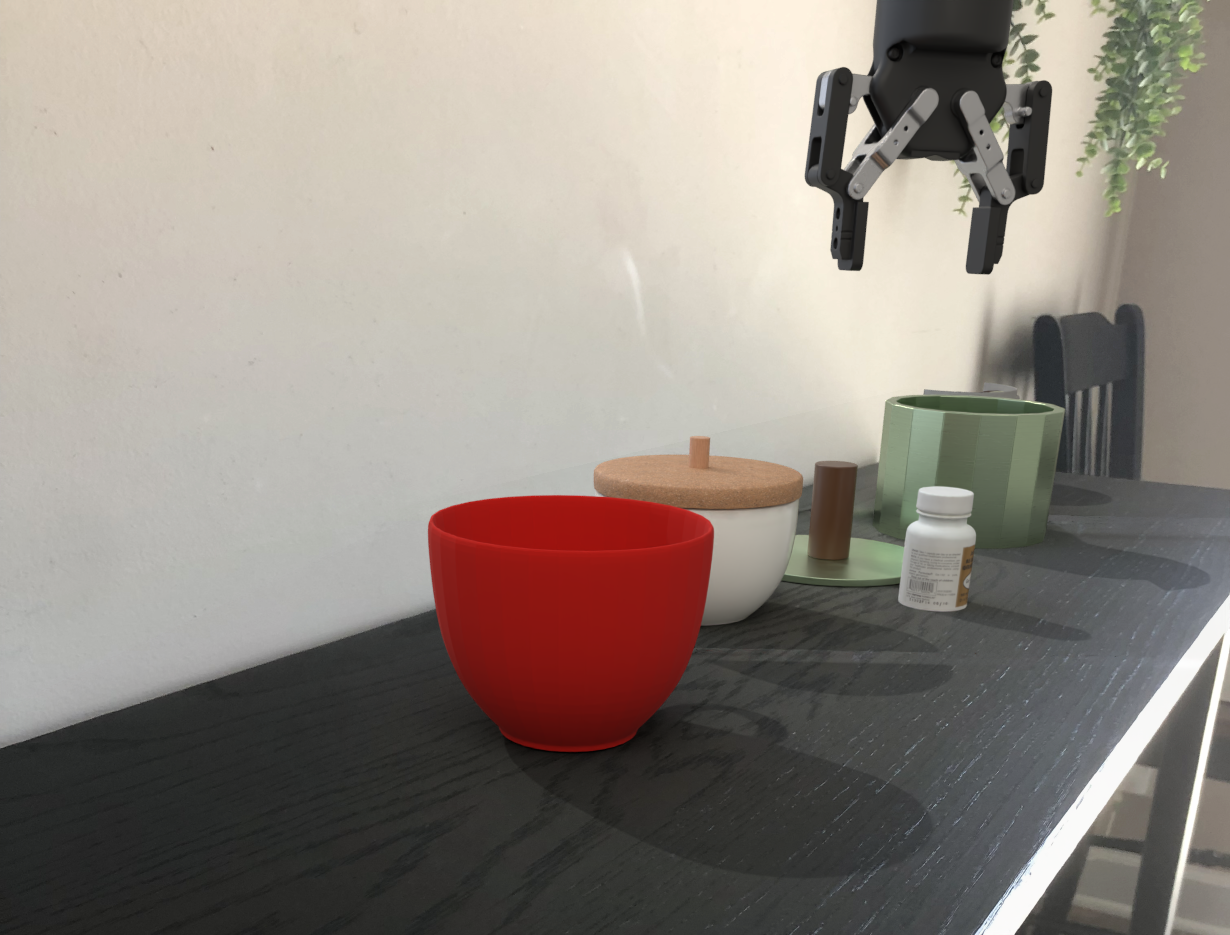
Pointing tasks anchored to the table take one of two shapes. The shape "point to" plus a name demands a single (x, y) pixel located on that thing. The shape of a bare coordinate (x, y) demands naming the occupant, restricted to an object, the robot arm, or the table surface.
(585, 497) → the ceramic cup
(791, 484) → the lidded bowl
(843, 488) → the lid
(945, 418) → the tin
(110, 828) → the table surface
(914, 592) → the pill bottle
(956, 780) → the table surface
